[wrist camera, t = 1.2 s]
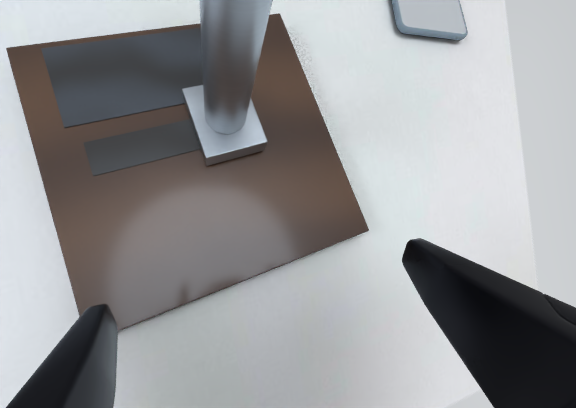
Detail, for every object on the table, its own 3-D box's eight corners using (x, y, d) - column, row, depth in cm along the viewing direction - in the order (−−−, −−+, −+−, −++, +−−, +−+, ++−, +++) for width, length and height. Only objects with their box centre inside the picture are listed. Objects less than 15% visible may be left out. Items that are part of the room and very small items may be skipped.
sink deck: (360, 232, 25) (370, 230, 23) (96, 338, 19) (86, 344, 17) (276, 26, 27) (280, 11, 26) (18, 62, 21) (4, 46, 20)
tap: (264, 150, 23) (322, 14, 11) (206, 166, 21) (200, 30, 9) (217, 26, 24) (222, -216, 12) (160, 34, 23) (103, -231, 11)
